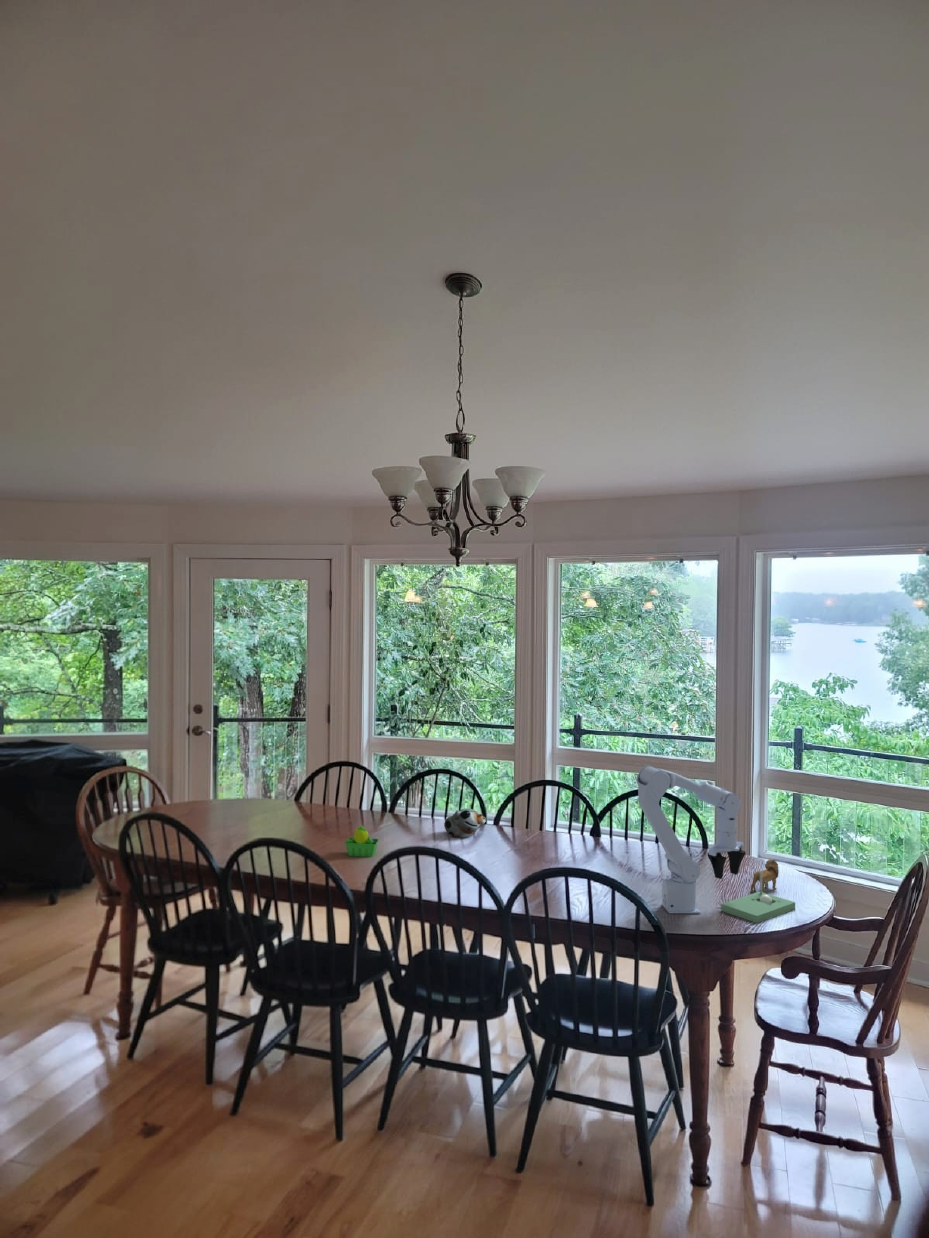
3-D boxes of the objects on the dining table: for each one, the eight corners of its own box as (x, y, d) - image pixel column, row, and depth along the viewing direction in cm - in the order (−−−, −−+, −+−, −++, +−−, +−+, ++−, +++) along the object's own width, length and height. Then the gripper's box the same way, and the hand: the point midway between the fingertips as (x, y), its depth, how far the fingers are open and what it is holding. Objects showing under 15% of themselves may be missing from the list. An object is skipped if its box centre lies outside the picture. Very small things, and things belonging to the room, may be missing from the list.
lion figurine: (766, 883, 258) (766, 856, 258) (782, 887, 254) (782, 859, 254) (746, 893, 247) (747, 865, 247) (763, 897, 243) (763, 869, 244)
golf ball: (770, 905, 236) (764, 910, 234) (761, 896, 238) (755, 901, 236) (776, 899, 234) (770, 904, 232) (767, 890, 236) (760, 895, 234)
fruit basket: (379, 852, 289) (379, 821, 289) (374, 859, 280) (374, 827, 280) (349, 851, 290) (349, 820, 290) (343, 857, 281) (343, 826, 281)
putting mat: (757, 922, 222) (757, 891, 222) (721, 910, 231) (721, 880, 231) (798, 907, 234) (798, 877, 235) (762, 896, 244) (762, 868, 244)
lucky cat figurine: (474, 829, 324) (487, 802, 320) (478, 848, 313) (491, 820, 308) (441, 820, 320) (453, 793, 316) (443, 839, 309) (456, 811, 305)
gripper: (723, 837, 228) (722, 883, 228) (752, 830, 236) (752, 875, 236) (703, 831, 234) (702, 877, 233) (732, 825, 242) (732, 869, 242)
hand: (726, 875), depth 235 cm, fingers open, 7 cm apart
